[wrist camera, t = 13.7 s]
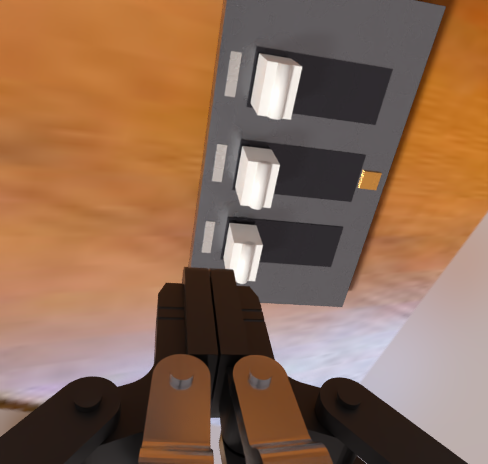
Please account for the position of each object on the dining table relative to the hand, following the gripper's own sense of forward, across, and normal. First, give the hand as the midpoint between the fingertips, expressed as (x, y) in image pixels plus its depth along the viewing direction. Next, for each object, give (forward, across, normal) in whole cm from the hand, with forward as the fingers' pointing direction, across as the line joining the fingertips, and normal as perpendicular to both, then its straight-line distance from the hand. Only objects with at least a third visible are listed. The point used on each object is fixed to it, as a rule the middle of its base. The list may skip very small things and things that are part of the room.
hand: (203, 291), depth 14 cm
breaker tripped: (+23, -6, +5) cm, 24 cm away
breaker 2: (+23, -6, -2) cm, 24 cm away
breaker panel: (+25, -10, +5) cm, 28 cm away
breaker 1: (+23, -6, +12) cm, 26 cm away
